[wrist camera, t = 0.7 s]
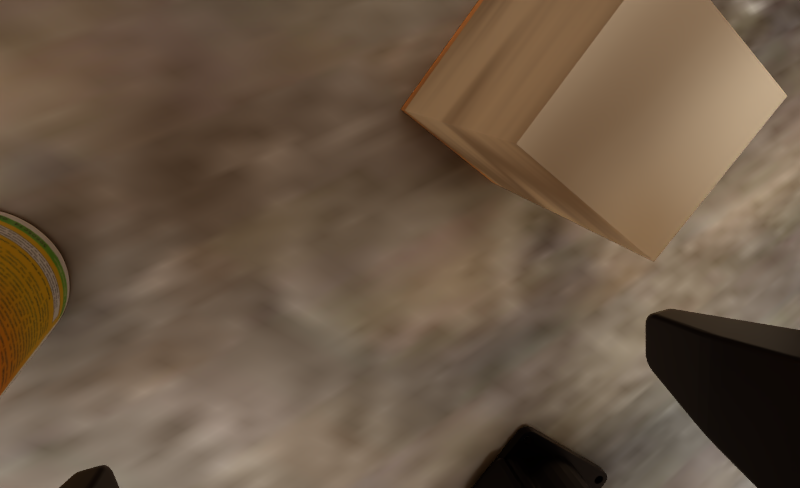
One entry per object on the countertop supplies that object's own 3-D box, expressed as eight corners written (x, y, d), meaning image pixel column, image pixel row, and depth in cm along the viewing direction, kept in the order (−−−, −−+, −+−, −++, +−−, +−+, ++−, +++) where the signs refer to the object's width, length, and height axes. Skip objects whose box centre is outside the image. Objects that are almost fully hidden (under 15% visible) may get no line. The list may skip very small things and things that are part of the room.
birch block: (566, 82, 22) (787, 95, 13) (492, 182, 23) (653, 261, 14) (479, -1, 20) (665, -56, 11) (400, 109, 21) (516, 143, 12)
